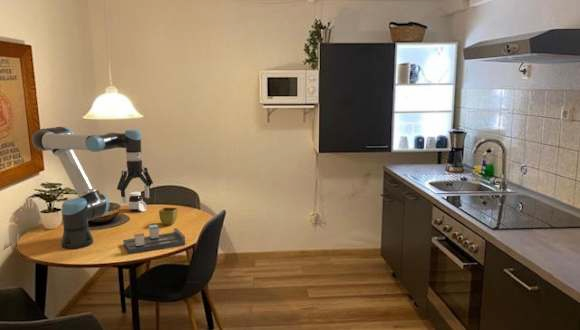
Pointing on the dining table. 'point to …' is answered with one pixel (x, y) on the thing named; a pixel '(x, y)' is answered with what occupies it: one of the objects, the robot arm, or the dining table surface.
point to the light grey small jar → (154, 231)
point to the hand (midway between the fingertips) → (136, 200)
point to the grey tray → (156, 242)
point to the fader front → (139, 238)
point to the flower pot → (168, 215)
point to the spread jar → (137, 202)
